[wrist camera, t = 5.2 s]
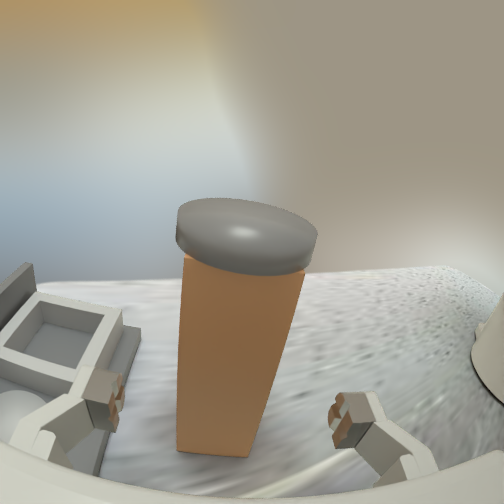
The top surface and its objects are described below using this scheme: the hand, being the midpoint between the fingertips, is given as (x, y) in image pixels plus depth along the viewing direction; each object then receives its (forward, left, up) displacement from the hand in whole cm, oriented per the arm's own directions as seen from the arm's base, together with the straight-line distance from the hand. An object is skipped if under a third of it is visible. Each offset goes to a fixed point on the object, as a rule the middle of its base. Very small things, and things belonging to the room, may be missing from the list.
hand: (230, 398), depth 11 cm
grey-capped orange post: (0, -4, -7) cm, 8 cm away
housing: (+11, -4, -7) cm, 14 cm away
